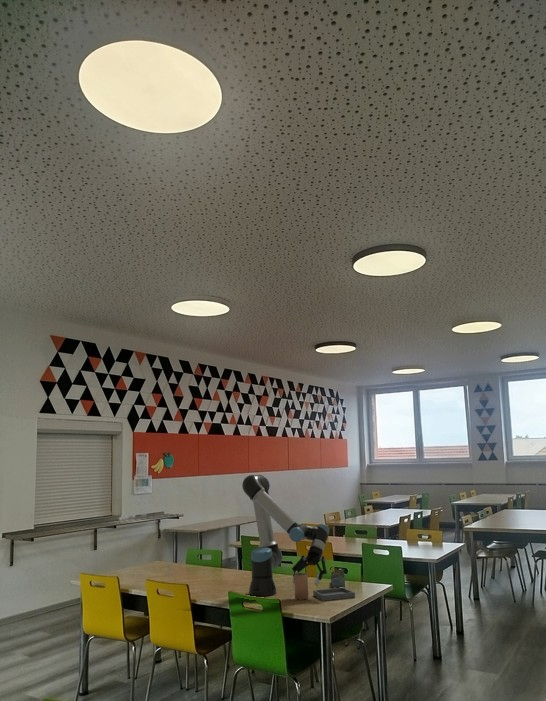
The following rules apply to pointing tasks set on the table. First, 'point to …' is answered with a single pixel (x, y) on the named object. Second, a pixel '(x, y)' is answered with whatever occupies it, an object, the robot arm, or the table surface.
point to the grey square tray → (333, 593)
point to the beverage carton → (337, 579)
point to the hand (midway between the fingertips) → (304, 583)
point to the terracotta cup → (301, 586)
